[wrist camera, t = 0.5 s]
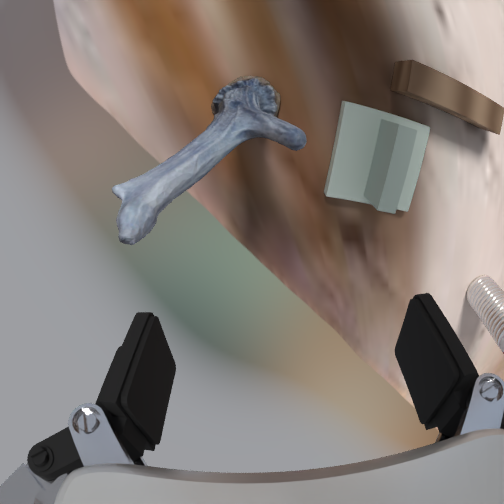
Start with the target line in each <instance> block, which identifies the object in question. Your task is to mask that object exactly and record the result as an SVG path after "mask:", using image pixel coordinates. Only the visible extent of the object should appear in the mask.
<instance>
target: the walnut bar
mask: <svg viewBox="0 0 504 504" xmlns="http://www.w3.org/2000/svg"><path fill="white" fill-rule="evenodd" d="M391 91H394V92H396V93H399V94H402V95H405V96H408V97H410V98H413V99H416V100H418V101H421V102H423V103H426V104H428V105H431V106H433V107H436V108H438V109H440V110H443V111H445V112H447V113H449V114H452V115H454V116H456V117H458V118H460V119H462V120H464V121H466V122H468V123H470V124H472V125H474V126H476V127H478V128H481V129H484V130H487V131H490V132H493V133H496V134H499V135H500V131H501V126H502V120H503V115H504V108H503V107H502V106H500V105H499V104H497V103H496V102H494V101H492V100H491V99H489V98H487V97H486V96H484V95H482V94H481V93H479V92H477V91H475V90H474V89H472V88H470V87H468V86H467V85H465V84H463V83H461V82H459V81H457V80H455V79H453V78H451V77H449V76H447V75H445V74H443V73H441V72H439V71H437V70H435V69H432V68H430V67H428V66H426V65H423V64H421V63H419V62H416V61H414V60H407V61H399V62H395V65H394V72H393V78H392V84H391Z"/></svg>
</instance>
